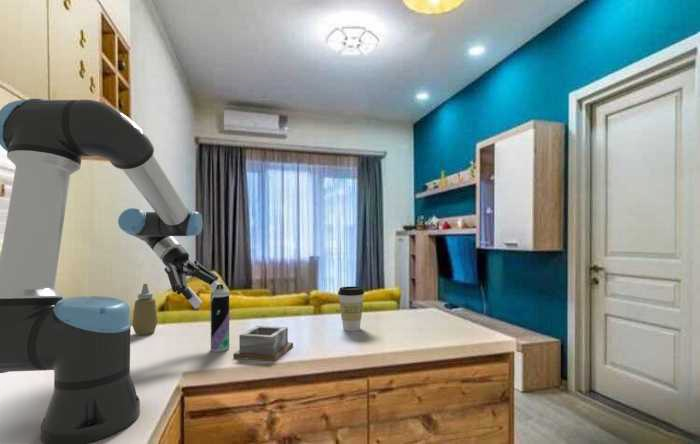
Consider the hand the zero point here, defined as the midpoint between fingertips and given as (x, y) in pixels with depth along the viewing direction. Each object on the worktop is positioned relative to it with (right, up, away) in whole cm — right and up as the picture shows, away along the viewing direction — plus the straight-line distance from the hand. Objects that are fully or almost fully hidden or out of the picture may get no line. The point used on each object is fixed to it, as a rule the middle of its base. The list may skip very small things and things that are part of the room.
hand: (212, 301), depth 113 cm
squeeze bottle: (-31, -16, +17) cm, 39 cm away
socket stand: (+18, -14, -6) cm, 23 cm away
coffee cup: (+44, -15, +19) cm, 50 cm away
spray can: (+3, -14, -2) cm, 15 cm away
